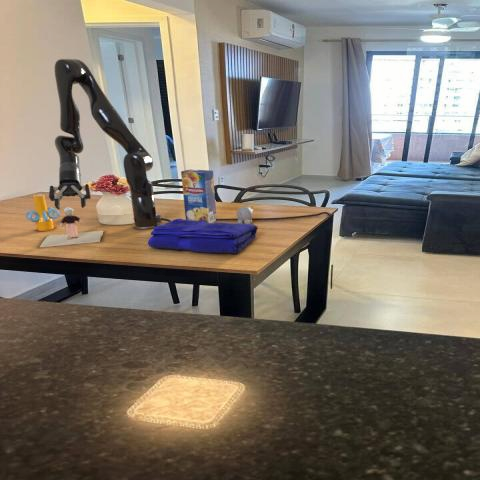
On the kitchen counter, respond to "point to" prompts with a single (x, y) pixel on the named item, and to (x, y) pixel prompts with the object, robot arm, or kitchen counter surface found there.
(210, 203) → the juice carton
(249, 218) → the round bodied animal figurine
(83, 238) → the cloth
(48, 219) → the yellow cone toy
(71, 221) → the grandmother figurine
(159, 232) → the towel
